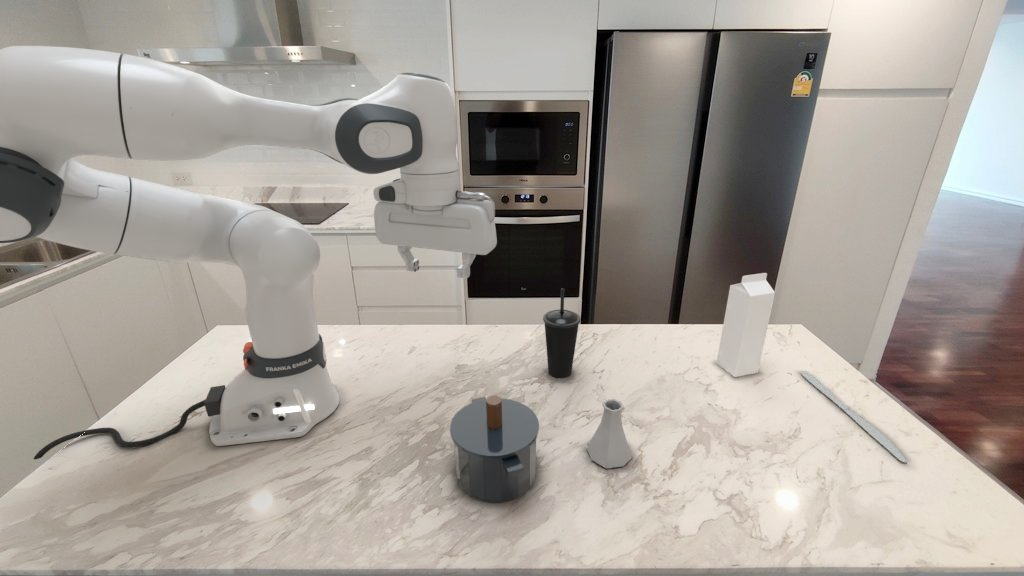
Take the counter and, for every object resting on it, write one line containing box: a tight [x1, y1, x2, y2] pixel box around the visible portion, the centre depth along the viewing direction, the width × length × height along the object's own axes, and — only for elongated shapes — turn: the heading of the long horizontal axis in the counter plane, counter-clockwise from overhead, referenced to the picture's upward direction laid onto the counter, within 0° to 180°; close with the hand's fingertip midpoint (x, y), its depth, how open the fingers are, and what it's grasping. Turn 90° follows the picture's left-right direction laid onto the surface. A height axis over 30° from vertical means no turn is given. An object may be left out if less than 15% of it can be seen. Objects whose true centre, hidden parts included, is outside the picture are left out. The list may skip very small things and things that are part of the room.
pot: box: [453, 396, 537, 504], centre depth 76 cm, size 13×18×9 cm
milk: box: [716, 272, 776, 378], centre depth 101 cm, size 6×6×22 cm
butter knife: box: [800, 370, 908, 464], centre depth 90 cm, size 1×27×3 cm
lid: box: [449, 395, 540, 459], centre depth 73 cm, size 14×14×6 cm
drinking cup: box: [542, 287, 582, 380], centre depth 100 cm, size 8×8×20 cm
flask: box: [586, 398, 633, 469], centre depth 79 cm, size 7×7×10 cm
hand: (438, 273), depth 79 cm, fingers open, 8 cm apart
